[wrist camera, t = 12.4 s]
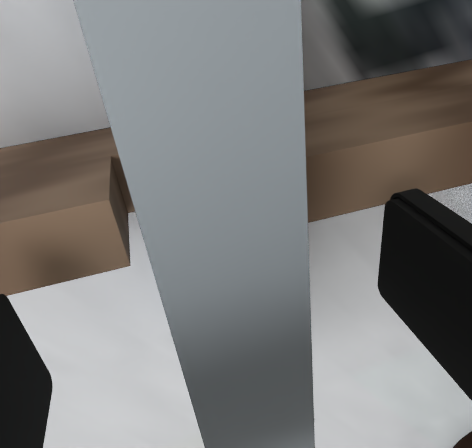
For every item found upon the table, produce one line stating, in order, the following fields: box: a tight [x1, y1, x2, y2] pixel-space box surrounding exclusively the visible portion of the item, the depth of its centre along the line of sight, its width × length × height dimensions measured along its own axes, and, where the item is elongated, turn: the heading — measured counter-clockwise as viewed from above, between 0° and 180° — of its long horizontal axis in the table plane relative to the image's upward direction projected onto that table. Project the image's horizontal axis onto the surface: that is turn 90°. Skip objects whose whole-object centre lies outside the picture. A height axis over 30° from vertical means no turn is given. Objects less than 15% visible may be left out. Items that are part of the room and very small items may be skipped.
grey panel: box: [73, 0, 315, 448], centre depth 11 cm, size 18×2×11 cm, turn 7°
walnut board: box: [0, 60, 472, 296], centre depth 13 cm, size 26×2×6 cm, turn 97°
